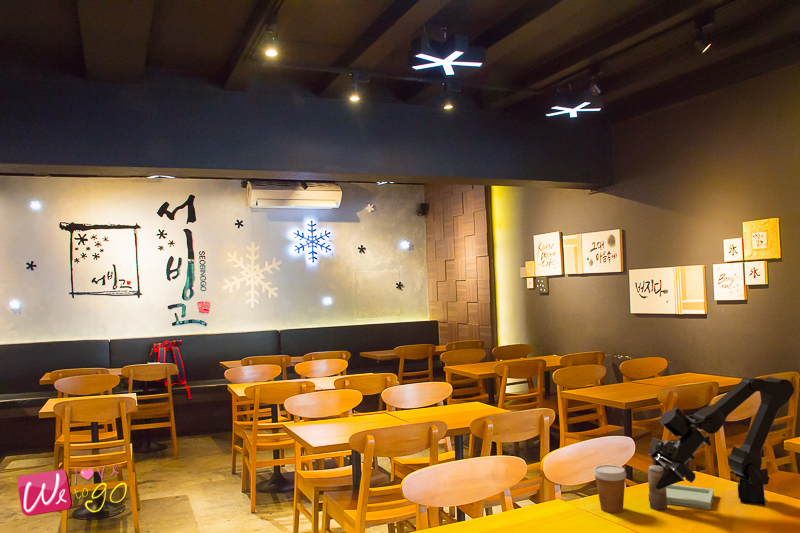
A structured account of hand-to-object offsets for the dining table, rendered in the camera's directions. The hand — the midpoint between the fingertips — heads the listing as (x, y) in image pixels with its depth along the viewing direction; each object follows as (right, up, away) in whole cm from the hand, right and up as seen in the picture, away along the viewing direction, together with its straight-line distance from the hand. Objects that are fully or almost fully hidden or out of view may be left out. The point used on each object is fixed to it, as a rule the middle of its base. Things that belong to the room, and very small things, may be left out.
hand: (652, 485), depth 178 cm
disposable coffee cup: (-12, -7, 0) cm, 14 cm away
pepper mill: (+2, -7, 0) cm, 7 cm away
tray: (+12, -6, +6) cm, 15 cm away
